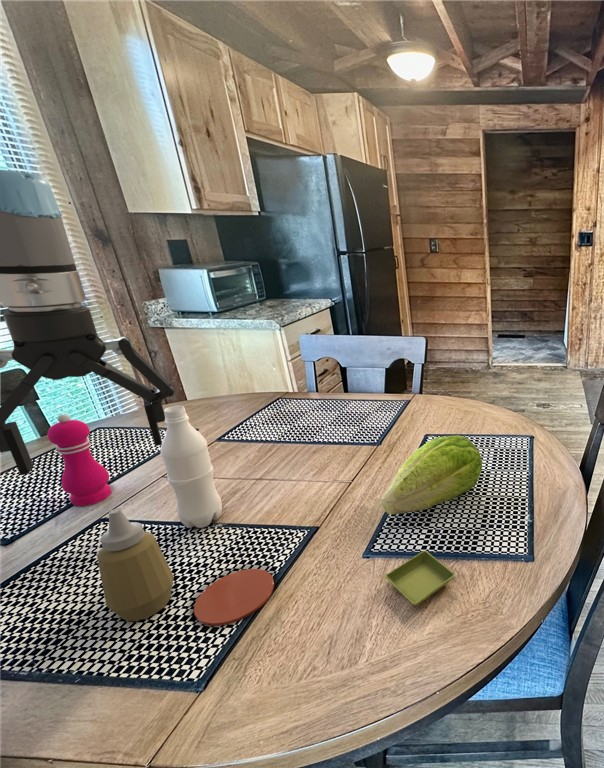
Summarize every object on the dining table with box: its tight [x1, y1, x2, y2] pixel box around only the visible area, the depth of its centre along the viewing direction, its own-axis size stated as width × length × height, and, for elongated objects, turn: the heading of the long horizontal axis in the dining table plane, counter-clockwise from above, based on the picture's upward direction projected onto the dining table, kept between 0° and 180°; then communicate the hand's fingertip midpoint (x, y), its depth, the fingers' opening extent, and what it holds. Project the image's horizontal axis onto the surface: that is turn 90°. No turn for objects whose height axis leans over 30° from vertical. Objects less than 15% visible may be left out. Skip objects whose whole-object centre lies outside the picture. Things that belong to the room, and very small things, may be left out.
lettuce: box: [380, 434, 483, 516], centre depth 93 cm, size 14×24×15 cm
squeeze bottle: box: [96, 508, 175, 622], centre depth 63 cm, size 8×8×18 cm
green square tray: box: [384, 550, 456, 607], centre depth 71 cm, size 9×9×2 cm
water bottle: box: [160, 405, 223, 529], centre depth 81 cm, size 7×7×25 cm
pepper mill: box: [46, 413, 112, 507], centre depth 88 cm, size 7×7×20 cm
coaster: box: [193, 568, 275, 627], centre depth 68 cm, size 11×11×1 cm
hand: (97, 455), depth 59 cm, fingers open, 13 cm apart
